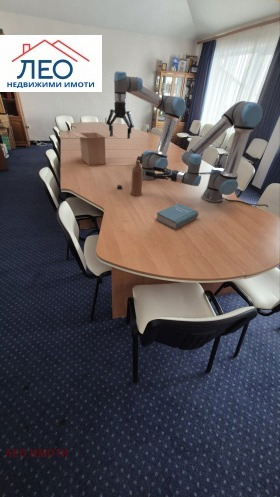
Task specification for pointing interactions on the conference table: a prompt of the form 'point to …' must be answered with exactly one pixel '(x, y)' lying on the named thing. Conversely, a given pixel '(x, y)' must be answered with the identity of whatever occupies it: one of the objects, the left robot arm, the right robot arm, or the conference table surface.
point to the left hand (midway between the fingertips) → (119, 137)
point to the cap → (119, 186)
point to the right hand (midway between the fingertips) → (149, 170)
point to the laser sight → (140, 158)
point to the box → (92, 146)
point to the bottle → (137, 179)
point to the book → (176, 215)
